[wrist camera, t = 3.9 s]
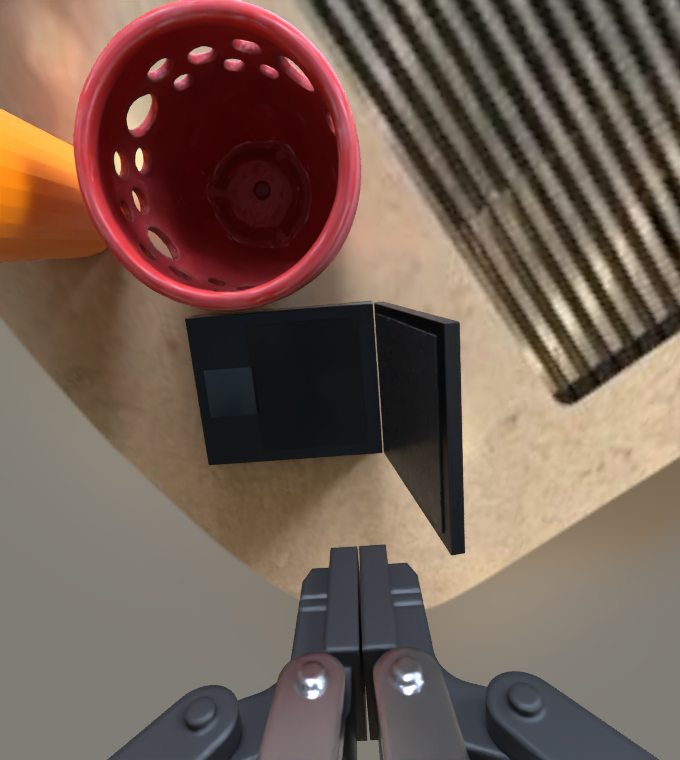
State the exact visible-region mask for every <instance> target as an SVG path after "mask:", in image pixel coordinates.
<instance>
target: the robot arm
mask: <svg viewBox="0 0 680 760" xmlns="http://www.w3.org/2000/svg"><path fill="white" fill-rule="evenodd" d="M359 554H360V572H359V560H358V549H357V546H356V547H340V548H331V551H330V564H329V568H315V569H312V570H311V571H310V572H309V574H308V575H307V577H306V578H305V579H304V581H303V582H302V589H301V596H300V602H299V609H298V610H299V612H298V615H297V622H296V629H295V636H294V642H293V649H292V655H291V660H290V661H289V662H288V663H287V664H286V665H285V666H284V668H283V669H282V671H281V672H280V675H279V677H278V681H277V683H275V684H274V685H273V686H271V687H270V688H268V689H266V690H265V691H262V692H260V693H258V694H255V695H252V696H249V697H246V698H243V699H241V700H238V701H237V698H236V696H235V695H234V693H232V691H231V690H229V689H227V688H226V687H222V686H218V685H210V686H204V687H200V688H198V689H195V690H193V691H191V692H189V693H187V694H186V695H185V696H183V697H182V698H181V699H179V700H178V701H177V702H176V703H175V704H173V705H172V706H171V707H170V708H169V709H168V710H166V711H165V712H164V713H163V714H161V715H160V716H159V717H158V718H157V719H156V720H154V721H153V722H152V723H151V724H150V725H148V726H147V727H146V728H145V729H144V730H143V731H141V732H140V733H139V734H138V735H136V736H135V737H134V738H133V739H132V740H130V741H129V742H128V743H127V744H126V745H124V746H123V747H122V748H121V749H120V750H119V751H117V752H116V753H115V754H114V755H113V756H111V757H110V758H109V759H108V760H357V741H367V721H366V697H367V708H368V718H369V719H368V720H369V731H370V740H379V753H380V760H659V759H657V758H656V757H654V756H653V755H651V754H650V753H649V752H647V751H646V750H644V749H643V748H641V747H640V746H638V745H637V744H635V743H634V742H633V741H631V740H630V739H628V738H627V737H625V736H624V735H623V734H621V733H620V732H618V731H617V730H615V729H614V728H612V727H611V726H609V725H608V724H607V723H605V722H604V721H602V720H601V719H599V718H598V717H596V716H595V715H593V714H592V713H591V712H589V711H588V710H586V709H585V708H583V707H582V706H580V705H579V704H578V703H576V702H575V701H573V700H572V699H570V698H569V697H567V696H566V695H564V694H563V693H561V692H560V691H559V690H557V689H556V688H554V687H553V686H551V685H550V684H548V683H547V682H545V681H544V680H542V679H541V678H539V677H537V676H534V675H531V674H528V673H524V672H517V671H515V672H514V671H513V672H506V673H502V674H500V675H498V676H496V677H495V678H493V679H492V680H491V682H490V683H489V685H488V687H485V686H481V685H477V684H473V683H469V682H465V681H462V680H460V679H458V678H456V677H454V676H453V675H451V674H450V673H448V672H447V671H446V670H445V669H444V668H443V667H442V666H441V665H440V664H439V662H438V661H437V659H436V657H435V654H434V651H433V646H432V641H431V636H430V632H429V627H428V622H427V618H426V613H425V608H424V605H423V599H422V594H421V589H420V585H419V580H418V575H417V574H416V573H415V572H414V571H413V569H412V568H411V567H410V566H409V565H408V564H407V563H397V564H388V560H387V552H386V545H370V546H359ZM365 686H366V691H365Z"/></svg>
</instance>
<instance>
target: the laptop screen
mask: <svg viewBox="0 0 680 760" xmlns="http://www.w3.org/2000/svg"><path fill="white" fill-rule="evenodd" d="M374 307H375V322H376V338H377V353H378V368H379V383H380V398H381V413H382V428H383V444H384V453H385V455H386V456H387V458H388V459H389V461H390V463H391V464H392V466H393V467H394V469H395V470H396V472H397V473H398V475H399V476H400V478H401V479H402V481H403V482H404V484H405V485H406V487H407V488H408V490H409V491H410V493H411V495H412V496H413V498H414V499H415V501H416V502H417V504H418V505H419V507H420V508H421V510H422V511H423V513H424V514H425V516H426V517H427V519H428V520H429V522H430V523H431V525H432V527H433V528H434V530H435V531H436V533H437V534H438V536H439V537H440V539H441V540H442V542H443V543H444V545H445V546H446V548H447V549H448V551H449V552H450V554H451V555H457V554H463V553H465V535H464V492H463V449H462V406H461V363H460V323H459V322H458V321H454V320H450V319H447V318H443V317H439V316H435V315H431V314H428V313H424V312H420V311H416V310H412V309H409V308H405V307H401V306H397V305H394V304H390V303H386V302H377V303H374Z"/></svg>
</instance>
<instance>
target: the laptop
mask: <svg viewBox="0 0 680 760" xmlns="http://www.w3.org/2000/svg"><path fill="white" fill-rule="evenodd" d="M185 321H186V327H187V334H188V340H189V346H190V352H191V358H192V364H193V371H194V377H195V383H196V389H197V395H198V401H199V408H200V414H201V420H202V426H203V432H204V438H205V444H206V451H207V457H208V463H209V465H218V464H232V463H246V462H260V461H274V460H289V459H303V458H317V457H331V456H345V455H359V454H374V453H382V437H381V422H380V407H379V392H378V377H377V362H376V347H375V332H374V317H373V304H372V302H371V301H364V302H352V303H340V304H328V305H316V306H304V307H292V308H279V309H267V310H255V311H243V312H231V313H219V314H207V315H195V316H191V317H188V318H186V319H185Z"/></svg>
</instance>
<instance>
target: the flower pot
mask: <svg viewBox="0 0 680 760" xmlns="http://www.w3.org/2000/svg"><path fill="white" fill-rule="evenodd" d="M201 46H207V47H211V48H212V49H211V50H209V51H207V52H204V53H200V54H193V53H190V52H191V51H192V50H193V49H195V48H198V47H201ZM163 58H167V59H166V61H165V62H164V64H163V65H162V66H161V67H159V68H158V69H156V70H154V71H152V72H149V70H150V68H151V67H152V66H153V65H154V64H155V63H156V62H157V61H159V60H161V59H163ZM287 58H289V59H290V60H291V61H293V62H294V63H295V64H296V65H297V66H298V67H299V68H300V69H301V70H302V71H303V73H304V74H305V75H306V76H305V75H303V74H302V73H301V72H300V71H299V70H298V69H297V68H295V67H294V66H293V65H292V63H291V62H290V61H289V60H288V59H287ZM227 59H239V60H241V61H239V62H231V61H228V60H227ZM268 66H269V67H268ZM184 74H187V76H186V77H185V78H184V79H182V80H180V81H177V82H174V81H175V80H176V79H177V78H178V77H179V76H181V75H184ZM146 94H151V97H152V104H151V107H150V111H149V113H148V115H147V117H146V118H145V120H144V121H143V122H142V124H141V125H140V126H139V127H137V128H136V129H134V130H129V129H128V126H127V114H128V110H129V108H130V106H131V105H132V103H133V102H134V101H135V100H137V99H138V98H139V97H142V96H144V95H146ZM73 143H74V159H75V167H76V173H77V179H78V184H79V188H80V192H81V195H82V199H83V202H84V204H85V207H86V209H87V212H88V215H89V217H90V219H91V221H92V223H93V225H94V227H95V228H96V230H97V232H98V234H99V235H100V236H101V238H102V240H103V242H104V243H105V245H106V246H107V247H108V249H109V250H110V252H111V253H112V254H113V255H114V256H115V257H116V259H117V260H118V261H119V262H120V263H121V264H122V265H123V266H124V267H125V268H126V269H127V270H128V271H129V272H130V273H131V274H132V275H133V276H134V277H136V278H137V279H138V280H139V281H140V282H142V283H143V284H145V285H146V286H148V287H149V288H151V289H152V290H154V291H155V292H157V293H159V294H161V295H163V296H165V297H168V298H170V299H172V300H174V301H177V302H180V303H183V304H187V305H190V306H193V307H198V308H203V309H209V310H238V309H247V308H252V307H257V306H261V305H264V304H268V303H271V302H274V301H277V300H280V299H282V298H284V297H287V296H289V295H291V294H293V293H295V292H296V291H298V290H300V289H301V288H303V287H304V286H306V285H307V284H308V283H310V282H311V281H312V280H314V279H315V278H316V277H317V276H319V275H320V274H321V273H322V272H323V271H324V270H325V269H326V268H327V267H328V265H329V264H330V263H331V262H332V261H333V259H334V258H335V257H336V255H337V254H338V252H339V251H340V249H341V247H342V246H343V244H344V242H345V240H346V238H347V236H348V234H349V231H350V229H351V226H352V223H353V220H354V217H355V214H356V210H357V206H358V201H359V195H360V185H361V158H360V147H359V141H358V136H357V131H356V126H355V121H354V118H353V115H352V111H351V108H350V105H349V102H348V99H347V97H346V94H345V92H344V90H343V88H342V86H341V84H340V82H339V80H338V78H337V76H336V74H335V73H334V71H333V69H332V67H331V66H330V65H329V63H328V62H327V60H326V59H325V58H324V56H323V55H322V54H321V53H320V51H319V50H318V49H317V48H316V47H315V46H314V45H313V44H312V43H311V41H310V40H309V39H308V38H307V37H305V36H304V35H303V34H302V33H301V32H300V31H299V30H298V29H296V28H295V27H294V26H293V25H291V24H290V23H289V22H287V21H285V20H284V19H282V18H280V17H279V16H277V15H276V14H274V13H272V12H270V11H268V10H265V9H263V8H261V7H258V6H255V5H253V4H249V3H246V2H243V1H239V0H180V1H176V2H172V3H169V4H166V5H163V6H160V7H158V8H155V9H153V10H151V11H149V12H147V13H145V14H144V15H142V16H140V17H138V18H136V19H135V20H134V21H132V22H131V23H130V24H128V25H127V26H126V27H124V28H123V29H122V30H120V31H119V32H118V33H117V34H116V35H115V36H114V37H113V38H112V40H111V41H110V42H109V43H108V44H107V46H106V47H105V48H104V49H103V51H102V52H101V54H100V55H99V57H98V58H97V60H96V62H95V63H94V65H93V67H92V68H91V71H90V73H89V75H88V77H87V79H86V81H85V84H84V87H83V89H82V92H81V95H80V99H79V102H78V107H77V112H76V117H75V124H74V133H73ZM138 148H141V150H142V153H143V159H144V162H143V167H142V169H141V171H140V172H139V171H138V169H137V167H136V165H135V155H136V151H137V149H138ZM116 151H117V153H118V154H119V156H120V160H121V171H120V175H119V176H118V174H117V173H116V170H115V165H114V154H115V152H116ZM132 190H133V191H134V192H135V193H136V195H137V197H138V199H139V203H140V207H141V212H140V211H139V210H138V209H137V208H136V205H135V203H134V199H133V195H132ZM148 230H150V231H152V232H154V233H155V234H156V235H158V236H159V238H160V239H161V240H162V241H163V243H164V244H165V245H166V246H167V248H168V249H169V251H170V253H171V255H172V258H173V259H171V258H168V257H166V256H164V255H163V254H161V253H160V252H159V251H158V250H157V249H156V248H155V247H154V245H153V244H152V242H151V241H150V238H149V237H148Z"/></svg>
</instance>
